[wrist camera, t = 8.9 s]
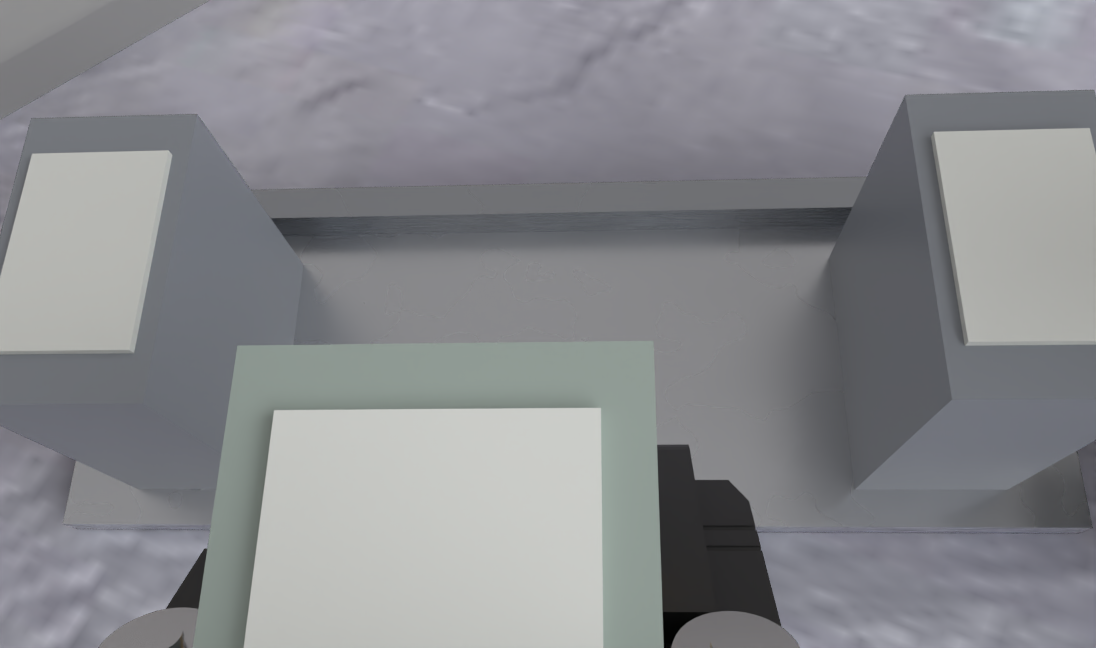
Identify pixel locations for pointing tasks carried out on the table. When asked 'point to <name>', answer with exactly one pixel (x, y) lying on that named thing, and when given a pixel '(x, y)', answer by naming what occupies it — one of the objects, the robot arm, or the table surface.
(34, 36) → the grey flat block
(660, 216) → the rail
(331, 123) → the table surface
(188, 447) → the mounted modules
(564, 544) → the block
